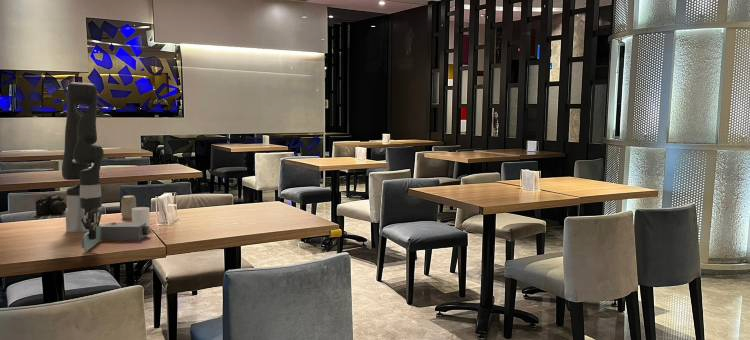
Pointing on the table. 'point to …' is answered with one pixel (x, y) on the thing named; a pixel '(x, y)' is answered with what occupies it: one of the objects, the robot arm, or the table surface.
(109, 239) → the camera housing
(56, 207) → the film camera
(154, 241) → the table surface
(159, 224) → the table surface
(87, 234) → the side door
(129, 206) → the carving
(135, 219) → the white cup
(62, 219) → the table surface
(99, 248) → the table surface
